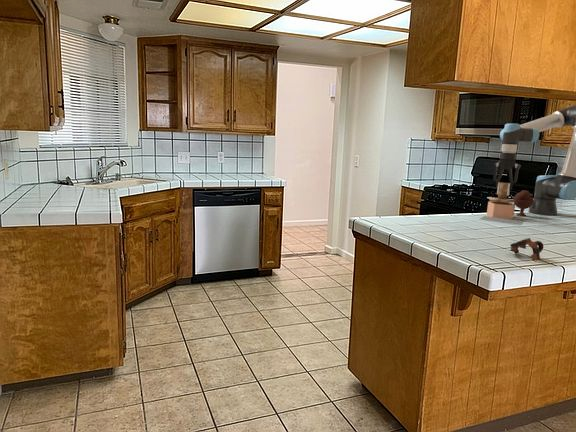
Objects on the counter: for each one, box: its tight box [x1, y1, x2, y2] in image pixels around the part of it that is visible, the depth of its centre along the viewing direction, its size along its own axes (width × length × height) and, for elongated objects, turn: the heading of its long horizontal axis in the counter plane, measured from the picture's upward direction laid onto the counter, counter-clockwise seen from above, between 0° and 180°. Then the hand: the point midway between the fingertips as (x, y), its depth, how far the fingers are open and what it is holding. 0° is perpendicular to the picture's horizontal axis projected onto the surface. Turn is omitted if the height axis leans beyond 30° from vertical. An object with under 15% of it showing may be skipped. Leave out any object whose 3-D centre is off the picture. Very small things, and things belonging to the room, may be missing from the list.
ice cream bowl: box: [512, 189, 534, 218], centre depth 257 cm, size 11×11×15 cm
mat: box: [479, 215, 525, 226], centre depth 238 cm, size 20×14×1 cm
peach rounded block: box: [488, 181, 515, 204], centre depth 248 cm, size 13×13×10 cm
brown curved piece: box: [509, 237, 544, 262], centre depth 166 cm, size 12×10×8 cm
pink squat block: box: [486, 200, 516, 219], centre depth 250 cm, size 13×13×8 cm
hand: (502, 194), depth 248 cm, fingers closed on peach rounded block, 4 cm apart
